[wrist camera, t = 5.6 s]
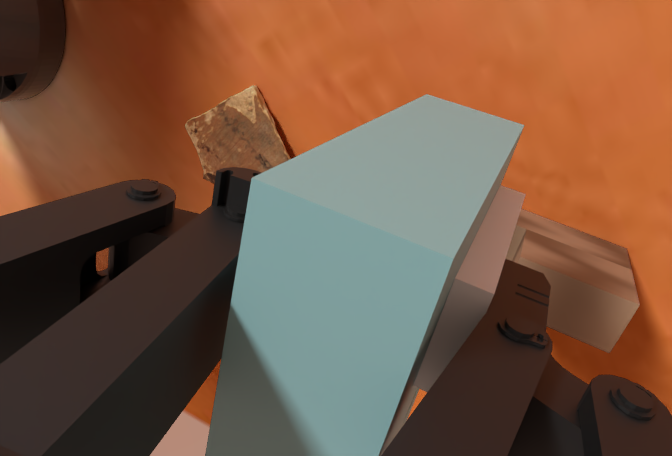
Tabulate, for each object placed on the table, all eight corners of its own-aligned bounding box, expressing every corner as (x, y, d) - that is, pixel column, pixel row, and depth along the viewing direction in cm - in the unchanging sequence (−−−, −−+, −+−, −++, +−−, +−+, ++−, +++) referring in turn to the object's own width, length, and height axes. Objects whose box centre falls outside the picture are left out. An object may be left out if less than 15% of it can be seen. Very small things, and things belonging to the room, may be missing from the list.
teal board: (392, 454, 21) (268, 743, 13) (327, 420, 22) (169, 671, 14) (524, 125, 15) (453, 258, 7) (426, 94, 16) (251, 177, 7)
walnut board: (363, 194, 36) (321, 229, 30) (375, 153, 35) (334, 182, 29) (602, 290, 32) (609, 353, 26) (626, 248, 31) (640, 304, 25)
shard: (330, 221, 38) (320, 229, 37) (251, 250, 42) (239, 259, 40) (264, 80, 37) (251, 83, 35) (188, 124, 40) (173, 128, 39)
